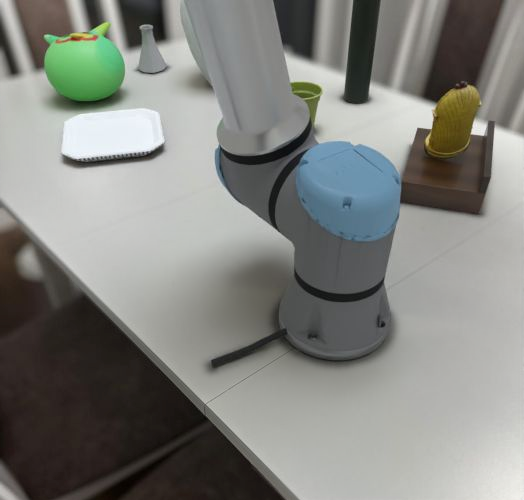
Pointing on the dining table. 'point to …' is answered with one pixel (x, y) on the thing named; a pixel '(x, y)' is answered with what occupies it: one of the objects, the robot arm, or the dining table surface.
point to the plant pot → (308, 95)
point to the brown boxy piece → (449, 174)
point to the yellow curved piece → (453, 122)
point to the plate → (112, 135)
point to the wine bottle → (361, 49)
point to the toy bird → (84, 64)
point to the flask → (150, 52)
